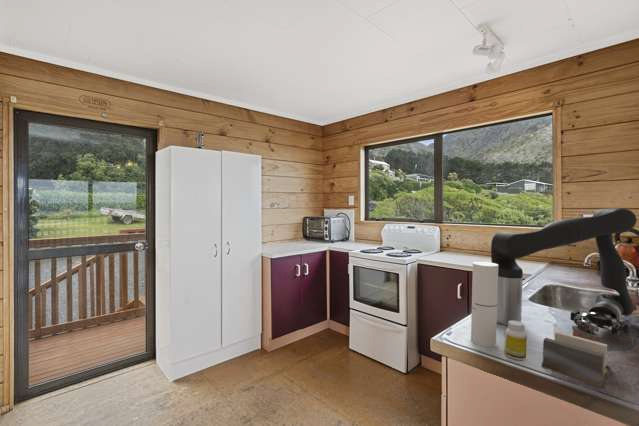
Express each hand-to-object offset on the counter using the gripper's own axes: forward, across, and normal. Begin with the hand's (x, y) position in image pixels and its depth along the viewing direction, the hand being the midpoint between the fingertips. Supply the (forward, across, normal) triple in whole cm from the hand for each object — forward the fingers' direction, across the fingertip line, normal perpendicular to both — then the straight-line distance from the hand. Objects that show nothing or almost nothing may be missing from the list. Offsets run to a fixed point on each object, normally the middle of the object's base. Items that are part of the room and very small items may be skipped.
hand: (594, 326), depth 99 cm
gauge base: (+22, 0, +6) cm, 22 cm away
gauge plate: (+18, 0, +5) cm, 19 cm away
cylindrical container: (+24, -23, +6) cm, 34 cm away
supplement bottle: (+26, -13, +6) cm, 30 cm away
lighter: (+11, 0, +6) cm, 13 cm away
